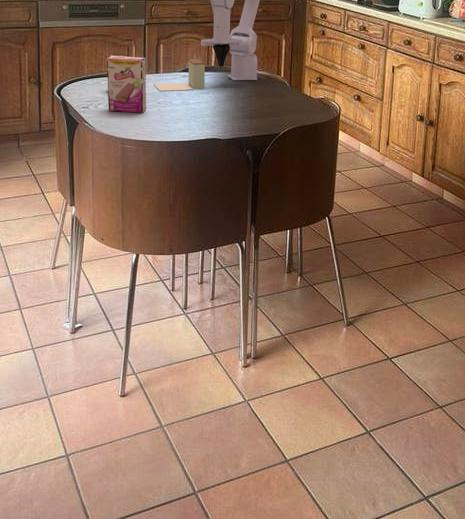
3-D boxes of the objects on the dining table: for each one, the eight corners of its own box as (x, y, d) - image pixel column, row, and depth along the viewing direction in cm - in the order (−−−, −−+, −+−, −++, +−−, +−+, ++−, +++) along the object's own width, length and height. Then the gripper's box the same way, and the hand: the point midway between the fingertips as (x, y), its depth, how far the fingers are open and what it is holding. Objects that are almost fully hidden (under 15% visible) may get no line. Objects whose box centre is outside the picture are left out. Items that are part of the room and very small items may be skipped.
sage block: (199, 84, 265) (199, 59, 261) (204, 88, 259) (204, 62, 255) (188, 84, 264) (188, 59, 260) (193, 89, 258) (193, 63, 254)
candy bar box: (108, 111, 227) (105, 58, 220) (112, 107, 232) (110, 55, 224) (143, 113, 226) (142, 60, 219) (146, 109, 231) (145, 57, 223)
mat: (186, 83, 265) (186, 82, 265) (193, 90, 256) (193, 89, 256) (153, 84, 261) (153, 84, 261) (159, 91, 253) (159, 90, 253)
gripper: (204, 28, 249) (204, 69, 255) (245, 28, 253) (243, 67, 259) (199, 25, 255) (199, 65, 261) (238, 25, 259) (237, 63, 265)
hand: (220, 66), depth 261 cm, fingers closed
